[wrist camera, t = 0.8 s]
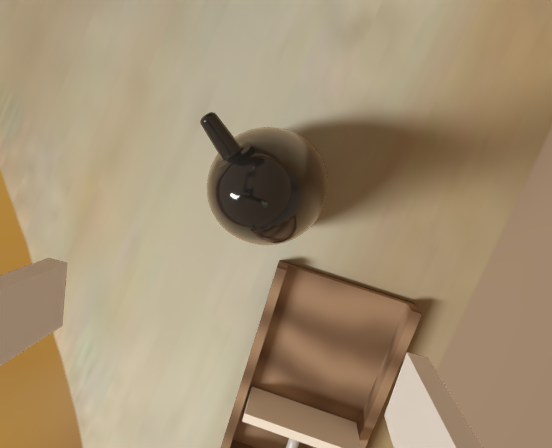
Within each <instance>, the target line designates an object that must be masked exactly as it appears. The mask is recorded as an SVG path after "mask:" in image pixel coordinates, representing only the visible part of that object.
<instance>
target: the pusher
mask: <svg viewBox="0 0 552 448" xmlns="http://www.w3.org/2000/svg"><path fill="white" fill-rule="evenodd" d="M242 422H245V423H248V424H251V425H254V426H256V427H259V428H262V429H265V430H268V431H271V432H273V433H276V434H279V435H282V436H285V437H287V438H289V440H288V443H287V445H286V448H298V446H299V443H300V442H301V443H304V444H307V445H310V446H313V447H316V448H361V445H360V440H359V434H358V429H357V424H356V422H353V421H350V420H347V419H344V418H342V417H339V416H336V415H333V414H330V413H327V412H324V411H321V410H319V409H316V408H313V407H310V406H307V405H304V404H301V403H298V402H296V401H293V400H290V399H287V398H284V397H281V396H278V395H275V394H273V393H270V392H267V391H264V390H261V389H258V388H255V387H252V388H251V391H250V394H249V398H248V401H247V405H246V409H245V412H244V416H243V420H242Z"/></svg>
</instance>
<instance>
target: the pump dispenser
mask: <svg viewBox="0 0 552 448" xmlns="http://www.w3.org/2000/svg"><path fill="white" fill-rule="evenodd" d="M200 123H201V125H202V127H203V128H204V130H205V132H206V133H207V135H208V137H209V138H210V140H211V142H212V143H213V145H214V146H215V148H216V150H217V151H218V154H217V155H216V157H215V159H214V161H213V163H212V165H211V168H210V171H209V175H208V180H207V197H208V202H209V205H210V208H211V210H212V213H213V214H214V216H215V218H216V219H217V221H218V222H219V223H220V225H221V226H222V227H223V228H224V229H225V230H227V231H228V232H229V233H230V234H232V235H234V236H235V237H237V238H239V239H241V240H243V241H246V242H249V243H253V244H258V245H276V244H281V243H285V242H288V241H290V240H293V239H295V238H297V237H298V236H300V235H301V234H303V233H304V232H305V231H307V230H308V229H309V228H310V227H311V226H312V225H313V224H314V223H315V221H316V220H317V219H318V217H319V216H320V214H321V212H322V210H323V208H324V205H325V202H326V199H327V194H328V177H327V172H326V168H325V165H324V162H323V160H322V158H321V156H320V155H319V153H318V152H317V150H316V149H315V148H314V147H313V146H312V145H311V144H310V143H309V142H308V141H307V140H306V139H304V138H303V137H301V136H300V135H298V134H296V133H294V132H292V131H289V130H286V129H281V128H274V127H263V128H256V129H252V130H248V131H246V132H243V133H241V134H239V135H237V136H236V137H233V135H232V134H231V133H230V132H229V130H228V129H227V128H226V126H225V125H224V124H223V122H222V121H221V120H220V119H219V117H218V116H217V115H216V114H215V113H213V112H210V113H208V114H206V115H205V116H203V117H202V118H201V121H200Z"/></svg>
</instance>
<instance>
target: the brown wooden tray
mask: <svg viewBox="0 0 552 448" xmlns="http://www.w3.org/2000/svg"><path fill="white" fill-rule="evenodd" d="M421 316H422V313H421V312H420V311H419V310H418V308H417V307H416V306H415V305H414V304H413V303H410V302H407V301H404V300H401V299H398V298H395V297H392V296H388V295H385V294H382V293H379V292H376V291H373V290H370V289H367V288H364V287H360V286H357V285H354V284H351V283H348V282H345V281H342V280H339V279H336V278H332V277H329V276H326V275H323V274H320V273H317V272H314V271H311V270H308V269H304V268H301V267H298V266H295V265H292V264H289V263H286V262H283V261H279V263H278V266H277V269H276V273H275V276H274V279H273V282H272V285H271V289H270V292H269V295H268V298H267V301H266V305H265V308H264V311H263V314H262V317H261V321H260V324H259V327H258V330H257V333H256V337H255V340H254V343H253V346H252V349H251V353H250V356H249V359H248V362H247V365H246V369H245V372H244V375H243V378H242V381H241V385H240V388H239V391H238V394H237V397H236V401H235V404H234V407H233V410H232V413H231V417H230V420H229V423H228V426H227V429H226V433H225V436H224V439H223V442H222V445H221V448H286V445H287V443H288V440H289V438H287V437H285V436H282V435H279V434H276V433H273V432H271V431H268V430H265V429H262V428H259V427H256V426H254V425H251V424H248V423H245V422H242V420H243V416H244V412H245V409H246V405H247V401H248V398H249V394H250V391H251V388H252V387H255V388H258V389H261V390H264V391H267V392H270V393H273V394H275V395H278V396H281V397H284V398H287V399H290V400H293V401H296V402H298V403H301V404H304V405H307V406H310V407H313V408H316V409H319V410H321V411H324V412H327V413H330V414H333V415H336V416H339V417H342V418H344V419H347V420H350V421H353V422H356V424H357V429H358V434H359V440H360V445H361V448H366V445H367V443H368V441H369V438H370V436H371V433H372V431H373V429H374V426H375V424H376V422H377V419H378V417H379V415H380V412H381V410H382V408H383V405H384V403H385V401H386V398H387V396H388V393H389V391H390V389H391V386H392V384H393V382H394V379H395V377H396V375H397V372H398V370H399V368H400V365H401V363H402V361H403V358H404V356H405V353H406V351H407V349H408V346H409V344H410V342H411V339H412V337H413V335H414V332H415V330H416V328H417V325H418V323H419V321H420V318H421ZM298 448H316V447H313V446H310V445H307V444H304V443H301V442H300V443H299V446H298Z"/></svg>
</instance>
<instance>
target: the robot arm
mask: <svg viewBox="0 0 552 448" xmlns="http://www.w3.org/2000/svg"><path fill="white" fill-rule="evenodd" d="M66 272H67V263H66V262H63V261H59V260H55V259H51V258H47V259H44V260H42V261H39V262H36V263H33V264H30V265H28V266H25V267H22V268H19V269H16V270H14V271H11V272H8V273H5V274H2V275H0V366H1V365H3V364H4V363H6V362H7V361H9V360H10V359H12V358H13V357H15V356H17V355H18V354H20V353H21V352H23V351H24V350H26V349H27V348H29V347H30V346H32V345H34V344H35V343H37V342H38V341H40V340H41V339H43V338H44V337H46V336H47V335H49V334H50V333H52V332H54V331H55V330H57V329H58V328H60V327H61V326H62V323H63V310H64V297H65V285H66ZM384 416H385V420H386V423H387V426H388V430H389V433H390V437H391V440H392V443H393V447H394V448H483V447H482V445H481V443H480V442H479V440H478V438H477V437H476V435H475V433H474V432H473V430H472V428H471V427H470V425H469V424H468V422H467V420H466V419H465V417H464V415H463V414H462V412H461V411H460V409H459V407H458V406H457V404H456V402H455V401H454V399H453V397H452V396H451V394H450V393H449V391H448V389H447V388H446V387H445V384H444V383H443V381H442V380H441V378H440V376H439V375H438V373H437V371H436V370H435V368H434V366H433V365H432V363H431V362H430V360H429V358H427V357H423V356H419V355H415V354H412V353H408V352H407V353H406V356H405V359H404V362H403V364H402V367H401V370H400V373H399V376H398V378H397V381H396V384H395V387H394V390H393V392H392V395H391V398H390V401H389V404H388V406H387V409H386V412H385V415H384Z"/></svg>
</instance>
